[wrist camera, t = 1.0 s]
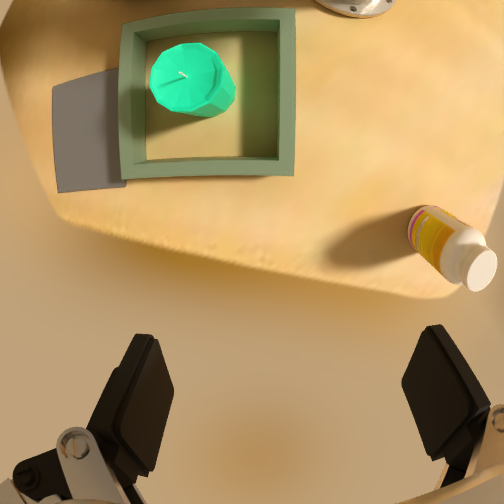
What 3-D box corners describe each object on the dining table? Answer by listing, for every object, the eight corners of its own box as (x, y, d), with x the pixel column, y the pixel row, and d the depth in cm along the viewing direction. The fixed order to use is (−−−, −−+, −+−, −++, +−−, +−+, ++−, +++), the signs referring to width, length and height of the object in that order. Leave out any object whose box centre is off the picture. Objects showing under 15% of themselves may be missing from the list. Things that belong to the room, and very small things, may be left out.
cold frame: (136, 33, 24) (122, 24, 21) (291, 21, 24) (295, 8, 20) (136, 173, 32) (121, 179, 28) (289, 170, 31) (293, 176, 28)
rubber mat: (54, 86, 27) (52, 86, 26) (122, 67, 26) (121, 67, 26) (59, 192, 33) (58, 192, 32) (126, 186, 32) (124, 186, 32)
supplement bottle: (406, 255, 35) (455, 308, 23) (403, 209, 33) (461, 250, 21) (445, 244, 34) (498, 289, 23) (444, 199, 32) (506, 234, 20)
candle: (239, 112, 29) (227, 102, 18) (186, 122, 29) (147, 120, 18) (231, 62, 27) (215, 27, 16) (178, 74, 27) (136, 49, 16)
